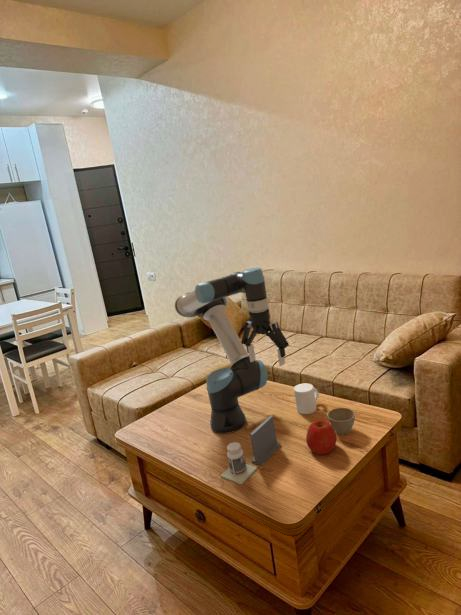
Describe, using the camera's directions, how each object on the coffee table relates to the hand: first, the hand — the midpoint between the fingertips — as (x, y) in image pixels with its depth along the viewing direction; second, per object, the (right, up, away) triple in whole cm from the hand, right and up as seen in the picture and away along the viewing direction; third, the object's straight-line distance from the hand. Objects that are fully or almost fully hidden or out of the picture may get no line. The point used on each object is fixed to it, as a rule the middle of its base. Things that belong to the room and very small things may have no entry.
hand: (267, 362), depth 159 cm
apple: (+19, -30, -10) cm, 37 cm away
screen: (-1, -32, -8) cm, 33 cm away
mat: (-11, -36, -15) cm, 41 cm away
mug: (+20, -22, +19) cm, 35 cm away
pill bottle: (-11, -36, -15) cm, 40 cm away
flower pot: (+29, -26, -2) cm, 38 cm away
